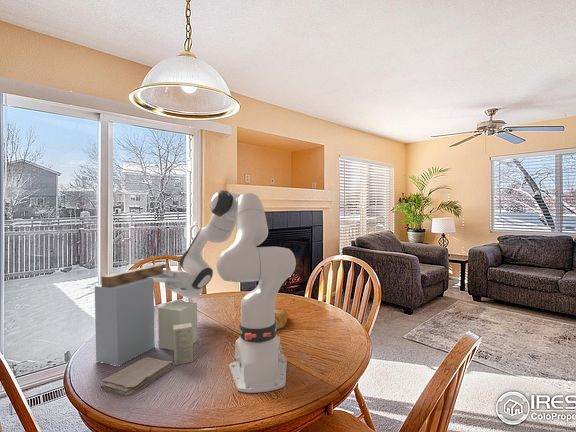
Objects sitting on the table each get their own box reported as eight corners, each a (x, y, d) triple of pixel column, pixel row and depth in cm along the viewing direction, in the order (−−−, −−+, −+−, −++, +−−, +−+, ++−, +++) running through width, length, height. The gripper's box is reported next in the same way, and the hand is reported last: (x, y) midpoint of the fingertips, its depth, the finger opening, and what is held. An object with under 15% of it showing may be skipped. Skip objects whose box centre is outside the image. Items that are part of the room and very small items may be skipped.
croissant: (272, 342, 127) (280, 326, 126) (253, 328, 130) (260, 313, 129) (289, 323, 147) (297, 310, 146) (272, 312, 150) (279, 298, 149)
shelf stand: (134, 343, 120) (133, 276, 119) (154, 346, 116) (153, 278, 116) (96, 362, 105) (94, 286, 104) (117, 367, 101) (116, 288, 101)
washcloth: (97, 390, 89) (97, 379, 89) (146, 362, 106) (146, 353, 105) (128, 399, 84) (128, 388, 84) (174, 368, 101) (174, 358, 101)
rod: (159, 272, 128) (159, 263, 128) (165, 272, 126) (165, 264, 126) (101, 286, 103) (101, 276, 103) (109, 287, 102) (109, 277, 102)
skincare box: (192, 356, 108) (192, 322, 108) (193, 362, 104) (193, 326, 104) (173, 359, 106) (173, 324, 106) (173, 365, 102) (173, 329, 102)
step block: (177, 337, 125) (176, 300, 125) (197, 340, 121) (197, 302, 121) (158, 347, 116) (158, 307, 115) (180, 351, 112) (179, 310, 112)
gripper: (159, 272, 139) (137, 261, 128) (197, 275, 132) (177, 263, 121) (154, 286, 136) (131, 275, 125) (192, 289, 129) (172, 279, 118)
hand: (154, 269), depth 123 cm, fingers open, 8 cm apart
